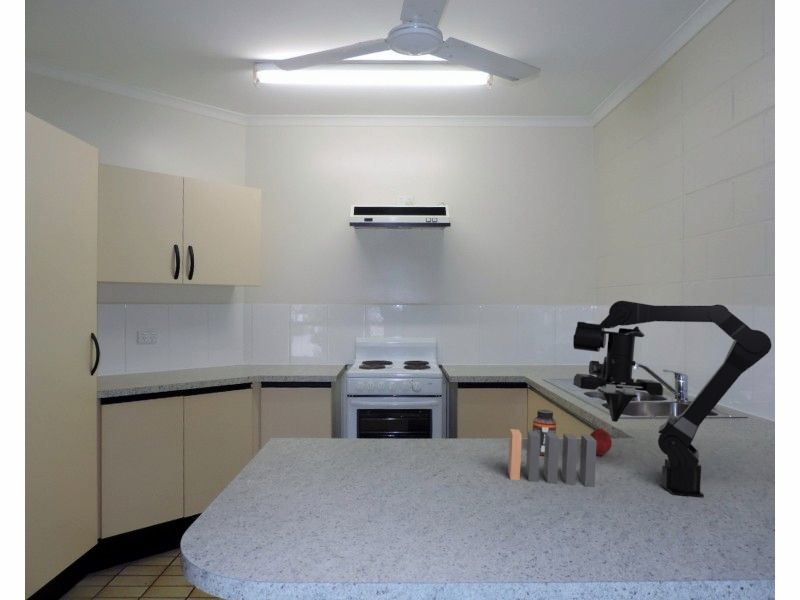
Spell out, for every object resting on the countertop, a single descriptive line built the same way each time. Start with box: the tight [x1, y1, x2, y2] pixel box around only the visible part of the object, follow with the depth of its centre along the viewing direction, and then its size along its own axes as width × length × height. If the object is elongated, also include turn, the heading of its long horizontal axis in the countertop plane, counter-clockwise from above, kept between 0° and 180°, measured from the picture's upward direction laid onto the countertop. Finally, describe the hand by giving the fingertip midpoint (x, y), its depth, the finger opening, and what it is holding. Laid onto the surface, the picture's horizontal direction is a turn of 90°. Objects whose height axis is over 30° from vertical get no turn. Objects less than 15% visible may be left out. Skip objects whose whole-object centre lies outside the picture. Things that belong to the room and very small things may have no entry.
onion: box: [589, 425, 613, 456], centre depth 133 cm, size 6×6×8 cm
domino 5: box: [579, 434, 597, 488], centre depth 111 cm, size 2×5×10 cm, turn 173°
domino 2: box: [525, 430, 540, 483], centre depth 112 cm, size 2×5×10 cm, turn 173°
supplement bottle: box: [532, 409, 557, 457], centre depth 132 cm, size 6×6×11 cm
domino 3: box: [543, 432, 560, 484], centre depth 112 cm, size 2×5×10 cm, turn 173°
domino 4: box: [561, 432, 578, 486], centre depth 111 cm, size 2×5×10 cm, turn 173°
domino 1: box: [507, 428, 523, 481], centre depth 113 cm, size 2×5×10 cm, turn 173°
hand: (614, 421), depth 116 cm, fingers closed
